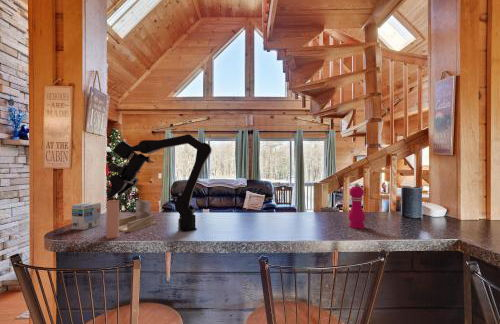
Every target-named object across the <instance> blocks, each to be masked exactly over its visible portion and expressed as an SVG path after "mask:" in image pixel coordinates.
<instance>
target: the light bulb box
mask: <svg viewBox="0 0 500 324" xmlns="http://www.w3.org/2000/svg"><path fill="white" fill-rule="evenodd" d="M101 206H102V205H101V202H96V201H95V202H92V201H89V202H83V203H78V204H72V205H71V230H82V231H85V230H87V229H91V228H94V227H95V226H96V227H99V226H101V224H102V223H101V222H102V221H101V219H102V217H101V216H102V212H101V211H102V210H101V209H102V207H101Z"/></svg>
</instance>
